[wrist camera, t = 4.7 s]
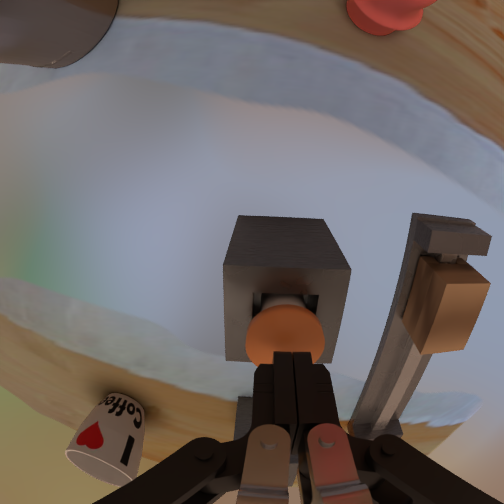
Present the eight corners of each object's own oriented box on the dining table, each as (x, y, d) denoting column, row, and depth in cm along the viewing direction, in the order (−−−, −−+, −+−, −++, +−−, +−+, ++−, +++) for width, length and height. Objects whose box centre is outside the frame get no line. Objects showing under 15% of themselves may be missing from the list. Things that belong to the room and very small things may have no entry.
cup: (163, 404, 30) (140, 476, 21) (148, 432, 33) (129, 493, 24) (99, 374, 29) (63, 440, 20) (93, 406, 32) (66, 463, 23)
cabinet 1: (238, 215, 21) (223, 264, 14) (328, 219, 21) (359, 270, 14) (237, 289, 24) (225, 360, 16) (319, 292, 24) (337, 363, 16)
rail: (412, 212, 21) (433, 227, 17) (469, 219, 20) (492, 233, 17) (347, 426, 31) (351, 448, 28) (391, 421, 31) (397, 442, 27)
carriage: (419, 256, 21) (446, 283, 17) (461, 258, 20) (490, 283, 16) (401, 321, 23) (420, 354, 19) (441, 319, 23) (463, 349, 19)
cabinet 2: (238, 396, 29) (231, 461, 22) (300, 398, 29) (305, 463, 21) (238, 427, 31) (232, 484, 24) (293, 428, 31) (295, 486, 24)
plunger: (251, 268, 16) (245, 313, 13) (317, 271, 16) (330, 315, 12) (249, 322, 18) (244, 372, 14) (309, 324, 18) (318, 374, 14)
